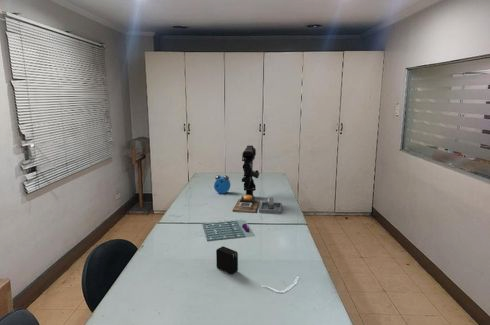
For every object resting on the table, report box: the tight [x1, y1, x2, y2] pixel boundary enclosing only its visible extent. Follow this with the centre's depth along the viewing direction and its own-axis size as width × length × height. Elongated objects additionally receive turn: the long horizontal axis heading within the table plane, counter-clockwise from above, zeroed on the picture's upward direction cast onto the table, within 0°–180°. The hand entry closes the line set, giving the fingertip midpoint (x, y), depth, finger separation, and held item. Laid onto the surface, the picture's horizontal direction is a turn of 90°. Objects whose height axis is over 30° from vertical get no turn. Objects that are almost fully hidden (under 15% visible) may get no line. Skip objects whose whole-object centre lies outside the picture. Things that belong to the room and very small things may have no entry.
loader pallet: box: [232, 195, 260, 214], centre depth 241 cm, size 24×16×4 cm, turn 171°
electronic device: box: [215, 245, 239, 275], centre depth 155 cm, size 4×10×10 cm, turn 51°
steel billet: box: [267, 197, 275, 210], centre depth 235 cm, size 4×4×8 cm
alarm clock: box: [213, 175, 232, 195], centre depth 272 cm, size 13×6×15 cm, turn 86°
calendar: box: [201, 219, 256, 242], centre depth 202 cm, size 27×28×2 cm
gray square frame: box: [258, 201, 283, 214], centre depth 236 cm, size 16×15×2 cm
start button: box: [242, 194, 252, 200], centre depth 247 cm, size 7×7×2 cm
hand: (247, 188), depth 246 cm, fingers closed
